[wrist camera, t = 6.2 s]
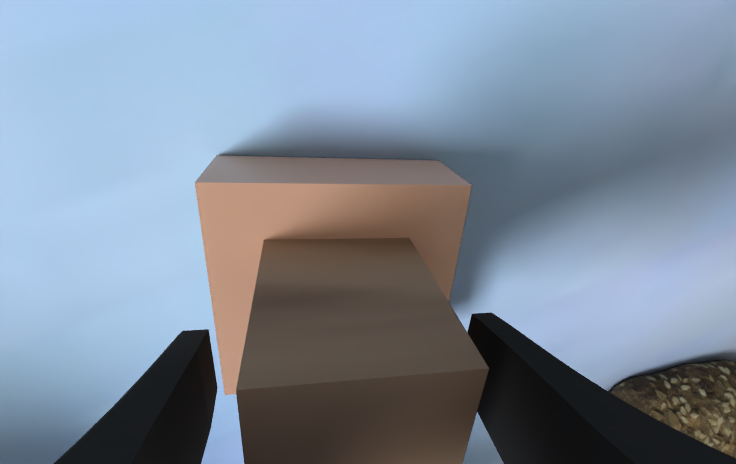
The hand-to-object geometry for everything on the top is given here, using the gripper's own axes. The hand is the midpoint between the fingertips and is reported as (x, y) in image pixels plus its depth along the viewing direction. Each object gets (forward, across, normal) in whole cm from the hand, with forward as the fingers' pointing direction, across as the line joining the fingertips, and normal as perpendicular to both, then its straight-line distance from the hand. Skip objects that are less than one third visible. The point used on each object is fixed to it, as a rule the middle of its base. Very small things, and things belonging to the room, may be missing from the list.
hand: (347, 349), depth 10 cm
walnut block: (+2, 0, 0) cm, 2 cm away
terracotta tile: (+5, 0, 0) cm, 5 cm away
